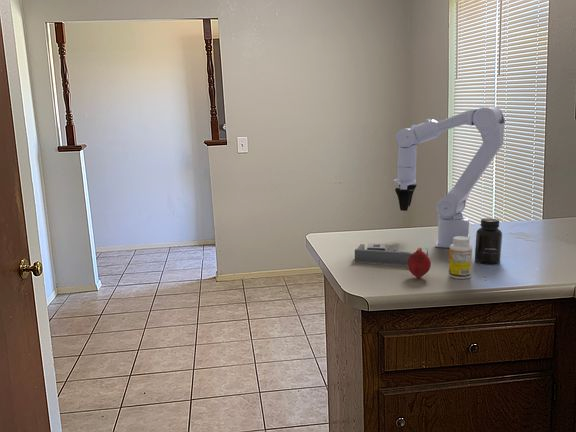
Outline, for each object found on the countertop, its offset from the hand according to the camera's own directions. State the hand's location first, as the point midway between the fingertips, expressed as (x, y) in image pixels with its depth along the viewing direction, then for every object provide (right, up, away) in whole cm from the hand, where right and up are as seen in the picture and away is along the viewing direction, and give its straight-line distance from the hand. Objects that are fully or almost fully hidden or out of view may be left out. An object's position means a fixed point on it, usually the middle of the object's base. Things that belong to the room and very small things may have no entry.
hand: (405, 208), depth 182 cm
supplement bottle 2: (+18, -16, -24) cm, 34 cm away
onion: (-5, -19, -38) cm, 42 cm away
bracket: (-8, -15, -22) cm, 28 cm away
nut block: (-12, -15, -19) cm, 27 cm away
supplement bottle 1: (+6, -18, -37) cm, 42 cm away
